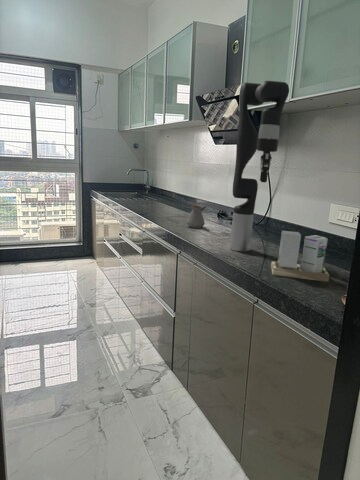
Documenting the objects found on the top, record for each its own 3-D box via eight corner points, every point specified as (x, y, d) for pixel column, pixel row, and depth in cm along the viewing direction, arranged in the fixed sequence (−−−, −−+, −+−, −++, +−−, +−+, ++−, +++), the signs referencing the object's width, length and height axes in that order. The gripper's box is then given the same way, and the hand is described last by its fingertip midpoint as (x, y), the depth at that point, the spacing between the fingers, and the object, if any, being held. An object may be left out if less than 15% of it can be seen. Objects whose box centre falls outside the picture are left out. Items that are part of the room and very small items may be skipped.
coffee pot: (183, 225, 222) (185, 201, 219) (200, 225, 225) (202, 202, 222) (194, 232, 202) (196, 206, 199) (212, 232, 205) (215, 206, 202)
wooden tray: (270, 270, 136) (271, 261, 135) (322, 276, 133) (323, 267, 132) (272, 278, 127) (273, 268, 126) (327, 284, 123) (329, 274, 123)
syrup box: (313, 278, 125) (319, 238, 122) (299, 274, 130) (304, 235, 127) (322, 276, 128) (328, 237, 125) (308, 272, 133) (314, 234, 130)
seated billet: (276, 269, 134) (281, 230, 131) (293, 271, 133) (298, 232, 130) (278, 273, 128) (283, 233, 125) (295, 275, 127) (301, 235, 124)
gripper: (257, 139, 140) (252, 180, 144) (258, 136, 126) (253, 181, 130) (277, 140, 139) (271, 181, 142) (280, 137, 125) (274, 183, 129)
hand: (263, 181), depth 136 cm, fingers open, 8 cm apart
